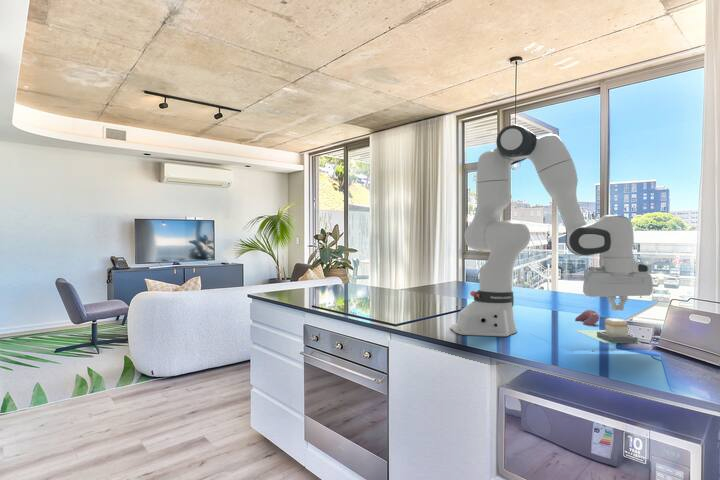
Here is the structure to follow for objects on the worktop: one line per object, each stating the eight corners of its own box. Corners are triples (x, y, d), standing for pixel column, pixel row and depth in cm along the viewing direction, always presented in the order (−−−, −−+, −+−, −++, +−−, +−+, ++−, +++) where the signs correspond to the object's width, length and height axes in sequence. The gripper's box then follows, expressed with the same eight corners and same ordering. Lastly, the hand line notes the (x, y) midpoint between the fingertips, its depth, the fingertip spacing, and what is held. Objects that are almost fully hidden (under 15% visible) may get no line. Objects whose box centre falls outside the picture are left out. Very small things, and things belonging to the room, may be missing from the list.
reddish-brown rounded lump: (594, 332, 149) (603, 315, 148) (582, 326, 150) (591, 309, 149) (584, 326, 159) (593, 310, 158) (573, 320, 159) (582, 305, 159)
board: (604, 346, 124) (604, 337, 124) (574, 333, 141) (574, 325, 141) (640, 345, 124) (640, 337, 124) (606, 333, 141) (606, 325, 141)
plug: (613, 340, 126) (613, 321, 126) (605, 337, 131) (605, 318, 131) (627, 340, 126) (627, 321, 126) (618, 337, 131) (618, 318, 131)
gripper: (589, 267, 125) (590, 312, 125) (656, 266, 125) (656, 311, 125) (578, 266, 131) (579, 308, 131) (641, 265, 131) (642, 307, 131)
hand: (617, 310), depth 128 cm, fingers closed
